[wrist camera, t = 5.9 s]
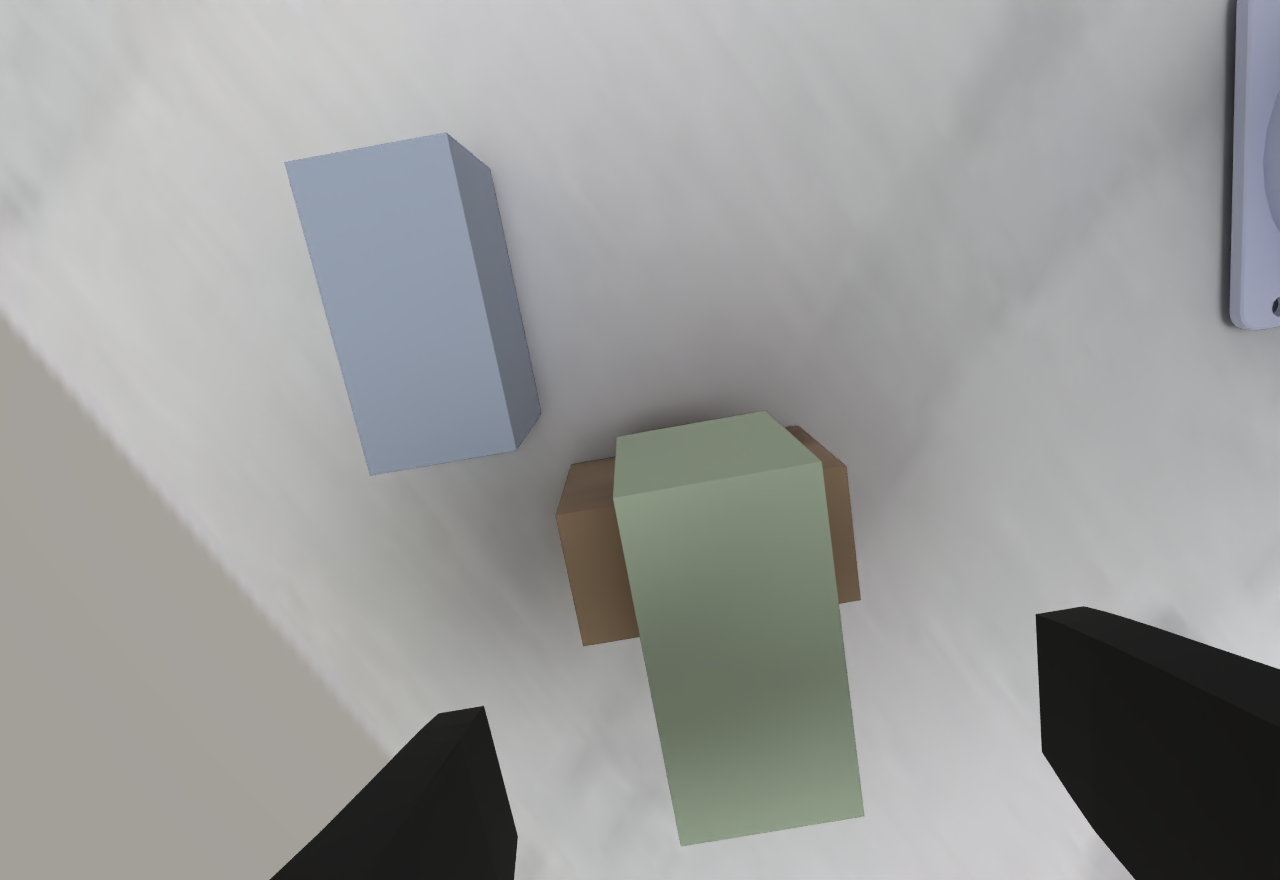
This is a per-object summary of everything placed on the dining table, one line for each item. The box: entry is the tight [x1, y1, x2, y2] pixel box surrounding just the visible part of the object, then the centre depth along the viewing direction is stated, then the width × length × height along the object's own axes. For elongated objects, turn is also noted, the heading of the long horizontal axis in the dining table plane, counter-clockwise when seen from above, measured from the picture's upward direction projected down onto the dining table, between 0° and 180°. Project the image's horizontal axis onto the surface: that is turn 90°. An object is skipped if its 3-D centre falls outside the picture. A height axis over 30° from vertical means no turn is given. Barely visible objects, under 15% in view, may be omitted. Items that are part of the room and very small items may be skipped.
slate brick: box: [284, 133, 541, 476], centre depth 15 cm, size 6×3×4 cm, turn 10°
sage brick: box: [613, 411, 864, 846], centre depth 12 cm, size 6×3×4 cm, turn 10°
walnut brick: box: [556, 426, 861, 646], centre depth 16 cm, size 6×3×4 cm, turn 100°
